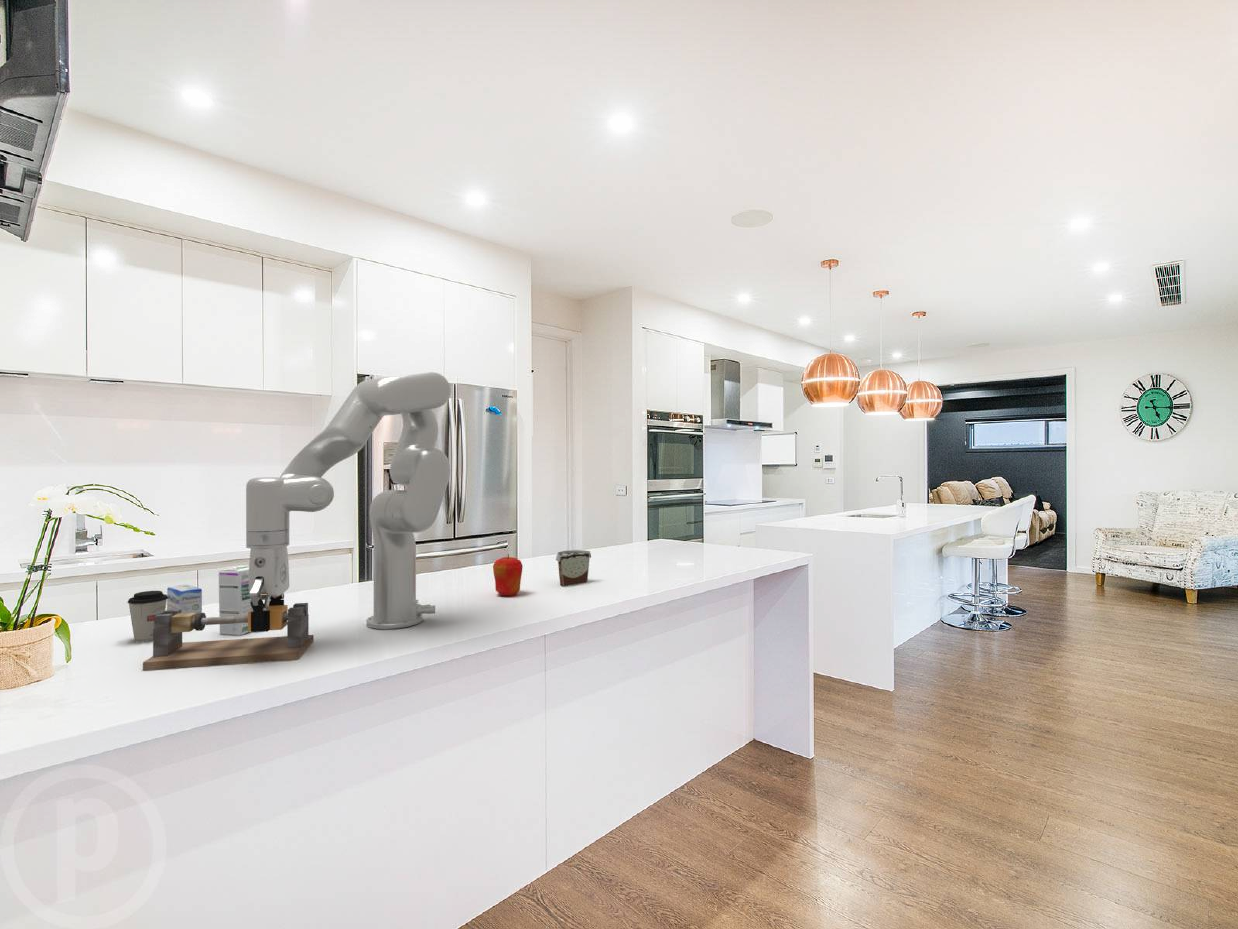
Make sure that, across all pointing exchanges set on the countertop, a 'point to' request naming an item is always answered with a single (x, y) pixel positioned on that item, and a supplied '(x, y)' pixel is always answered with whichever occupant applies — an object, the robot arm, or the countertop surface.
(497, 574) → the apple
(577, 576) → the food container
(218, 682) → the countertop surface
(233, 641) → the rail
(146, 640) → the black-capped travel mug
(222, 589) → the syrup box
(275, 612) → the sleeve
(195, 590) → the medicine box
